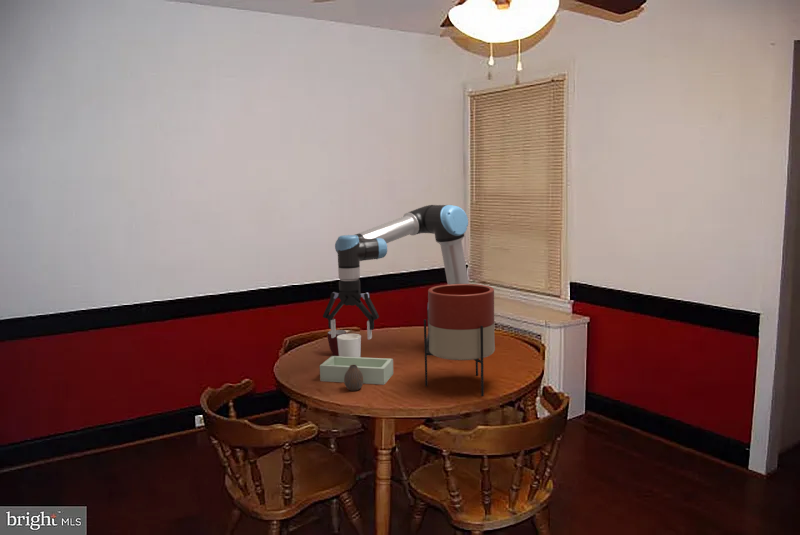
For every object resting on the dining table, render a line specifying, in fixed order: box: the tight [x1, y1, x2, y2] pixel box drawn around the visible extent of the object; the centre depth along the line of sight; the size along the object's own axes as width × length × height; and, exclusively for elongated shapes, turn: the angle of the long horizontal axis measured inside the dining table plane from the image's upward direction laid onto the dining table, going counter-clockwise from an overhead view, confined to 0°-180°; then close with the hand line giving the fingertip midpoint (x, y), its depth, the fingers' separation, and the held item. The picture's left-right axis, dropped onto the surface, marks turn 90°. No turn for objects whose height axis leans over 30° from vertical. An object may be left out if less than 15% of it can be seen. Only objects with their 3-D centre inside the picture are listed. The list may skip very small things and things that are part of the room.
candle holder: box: [337, 333, 362, 357], centre depth 257 cm, size 10×10×12 cm
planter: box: [423, 283, 496, 397], centre depth 226 cm, size 24×25×35 cm
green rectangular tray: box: [319, 355, 394, 385], centre depth 241 cm, size 25×13×6 cm, turn 76°
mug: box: [327, 329, 347, 356], centre depth 273 cm, size 11×8×10 cm
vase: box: [343, 365, 364, 392], centre depth 228 cm, size 7×7×9 cm
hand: (351, 338), depth 226 cm, fingers open, 13 cm apart
